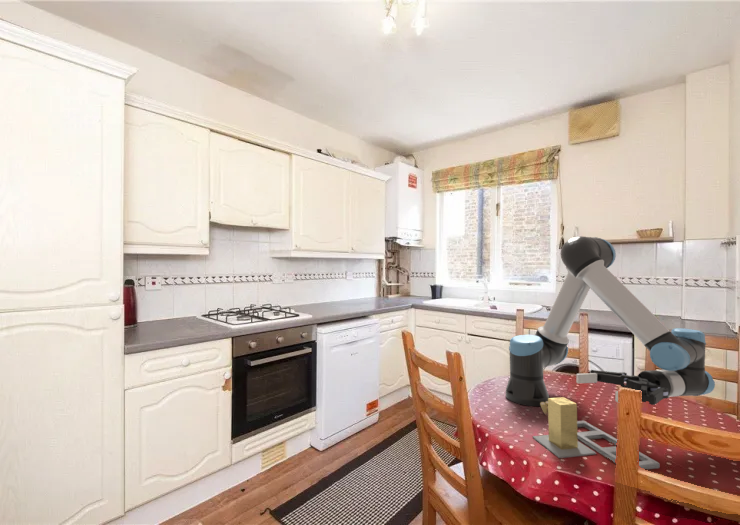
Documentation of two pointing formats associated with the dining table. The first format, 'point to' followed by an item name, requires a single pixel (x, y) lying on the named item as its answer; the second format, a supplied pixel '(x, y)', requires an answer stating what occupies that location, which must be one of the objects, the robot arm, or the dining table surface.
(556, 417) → the block
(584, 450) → the mat
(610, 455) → the rail
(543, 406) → the ammunition
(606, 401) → the dining table surface
